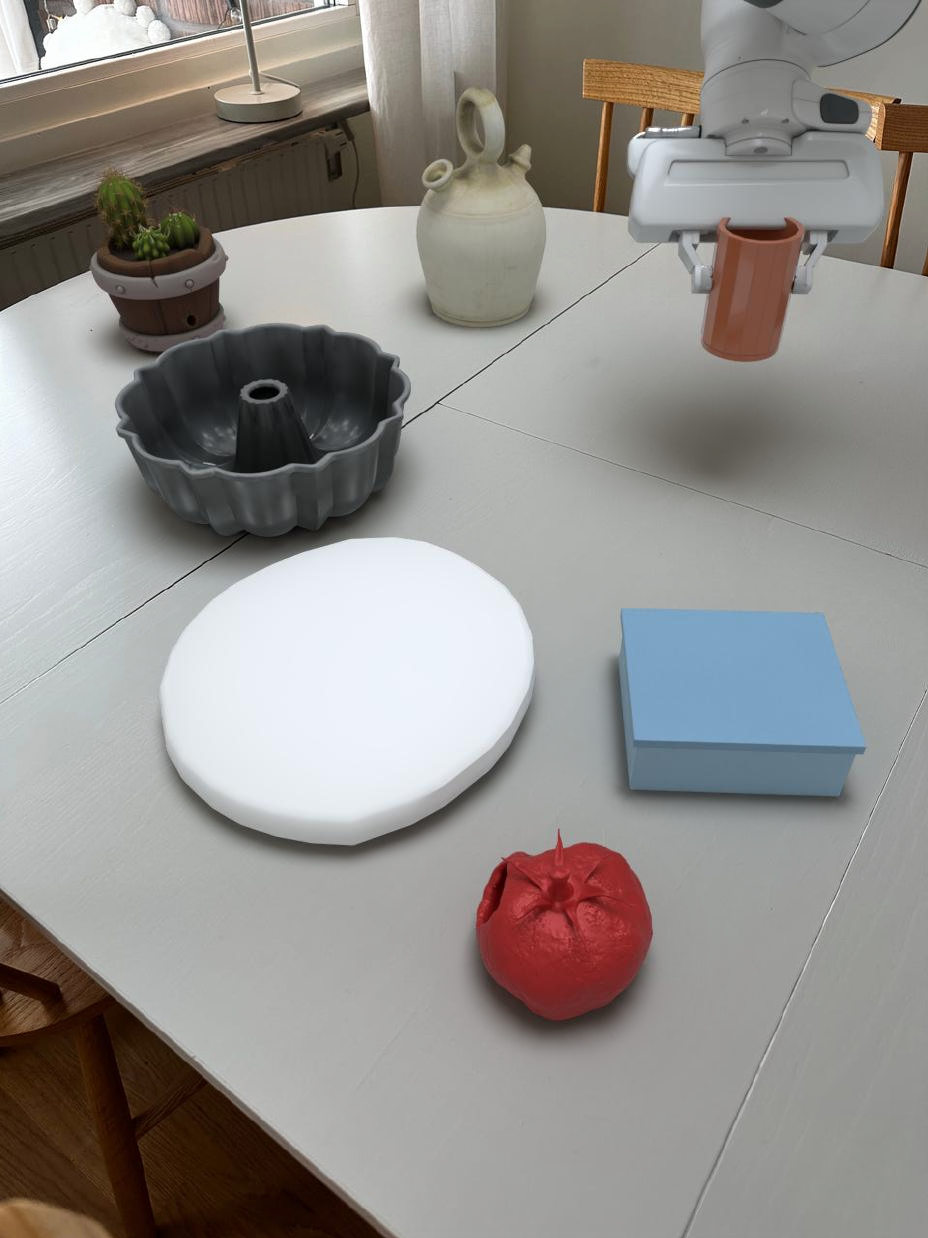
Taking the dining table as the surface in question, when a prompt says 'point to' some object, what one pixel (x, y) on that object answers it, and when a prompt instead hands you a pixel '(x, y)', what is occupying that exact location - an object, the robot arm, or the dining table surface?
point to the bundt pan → (266, 426)
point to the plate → (347, 689)
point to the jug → (480, 225)
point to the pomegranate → (564, 928)
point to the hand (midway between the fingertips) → (751, 291)
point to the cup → (750, 290)
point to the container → (735, 703)
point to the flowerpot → (156, 269)
